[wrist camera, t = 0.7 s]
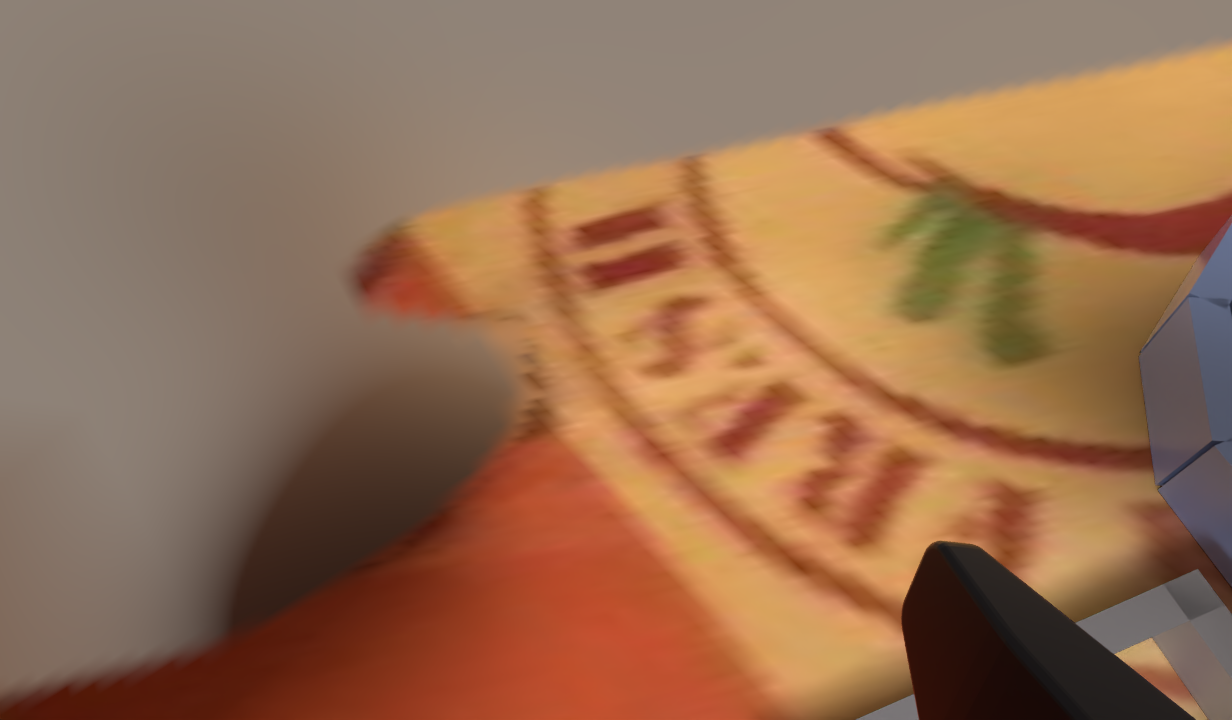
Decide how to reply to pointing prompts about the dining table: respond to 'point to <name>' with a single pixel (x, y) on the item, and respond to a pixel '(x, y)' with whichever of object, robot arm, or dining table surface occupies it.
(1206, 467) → the bowl
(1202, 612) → the open gray frame
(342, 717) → the dining table surface
